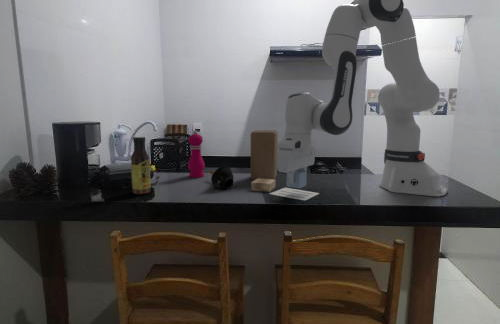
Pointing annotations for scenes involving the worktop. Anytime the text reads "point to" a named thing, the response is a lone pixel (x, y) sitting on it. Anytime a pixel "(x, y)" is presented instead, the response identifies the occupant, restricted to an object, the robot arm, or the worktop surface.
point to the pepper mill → (196, 156)
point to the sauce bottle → (140, 167)
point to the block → (264, 154)
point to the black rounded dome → (222, 177)
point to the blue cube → (298, 179)
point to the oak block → (263, 184)
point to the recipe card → (294, 193)
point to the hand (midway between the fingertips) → (296, 181)
